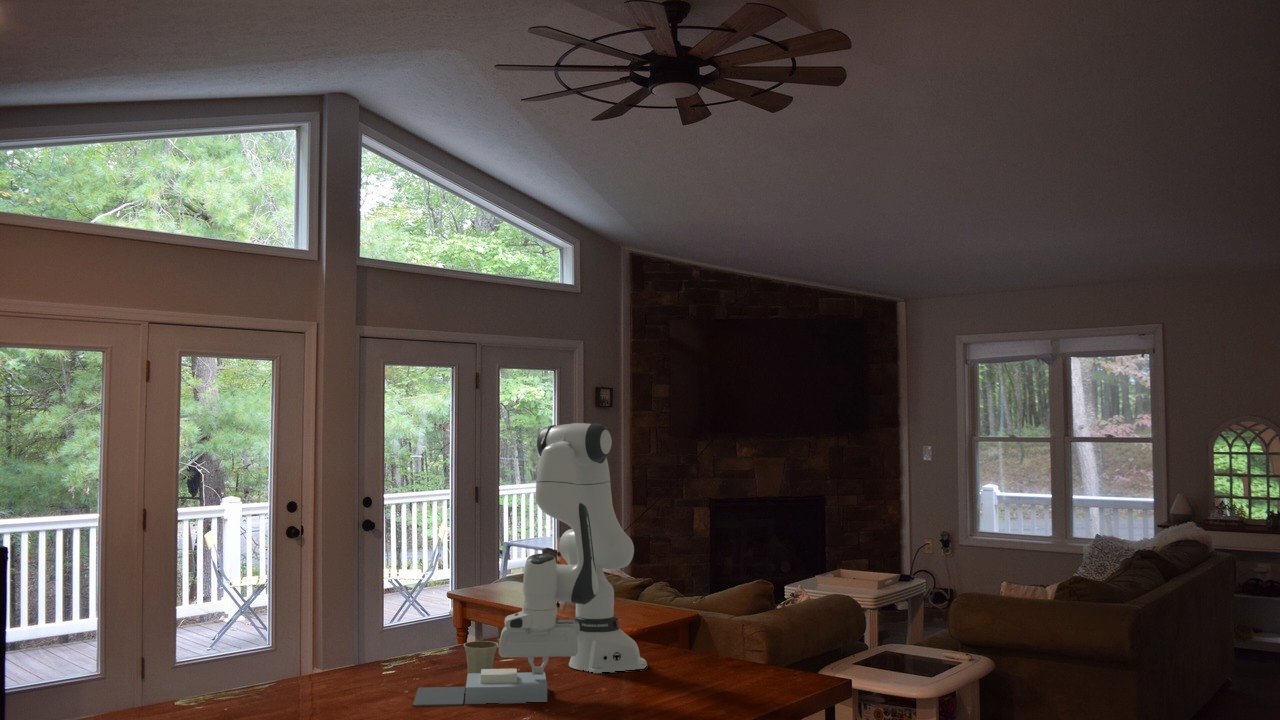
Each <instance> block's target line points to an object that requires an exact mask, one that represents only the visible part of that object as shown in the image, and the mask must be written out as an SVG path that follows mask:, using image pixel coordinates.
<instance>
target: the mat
mask: <svg viewBox="0 0 1280 720" xmlns="http://www.w3.org/2000/svg"><path fill="white" fill-rule="evenodd" d="M465 693H466V686H444V687H443V686H434V687H433V686H430V687H429V686H427V687H425V686H424V687H417V690H416V693H415V697H414V699H413V703H412V707H442V706H443V707H444V706H445V707H446V706H447V707H448V706H450V707H451V706H453V707H454V706H456V707H457V706H464V702H465V701H464V700H465V695H464V694H465Z"/></svg>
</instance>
